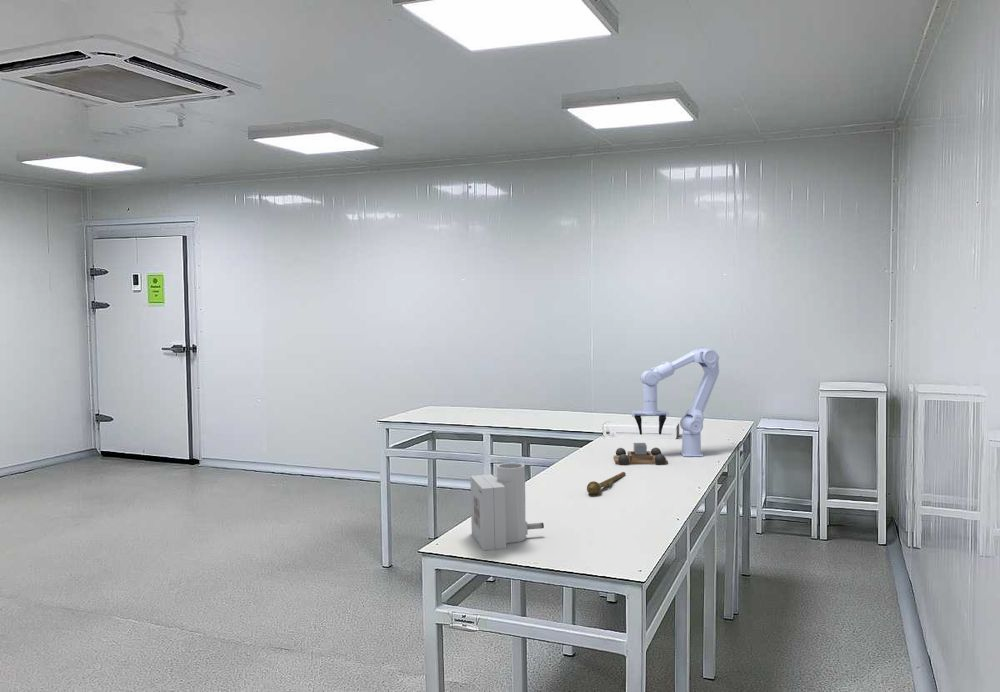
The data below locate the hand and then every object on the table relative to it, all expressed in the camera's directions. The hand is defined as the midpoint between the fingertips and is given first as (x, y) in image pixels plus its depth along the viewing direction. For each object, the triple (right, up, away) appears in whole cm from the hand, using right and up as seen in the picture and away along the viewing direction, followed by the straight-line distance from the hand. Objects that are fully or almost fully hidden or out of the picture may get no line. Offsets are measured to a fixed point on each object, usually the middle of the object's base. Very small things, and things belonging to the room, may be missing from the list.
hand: (650, 434), depth 330 cm
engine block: (-5, -9, -7) cm, 13 cm away
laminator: (+5, -7, +51) cm, 52 cm away
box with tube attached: (-58, -17, -108) cm, 124 cm away
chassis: (-5, -10, -7) cm, 13 cm away
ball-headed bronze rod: (-23, -13, -47) cm, 55 cm away
